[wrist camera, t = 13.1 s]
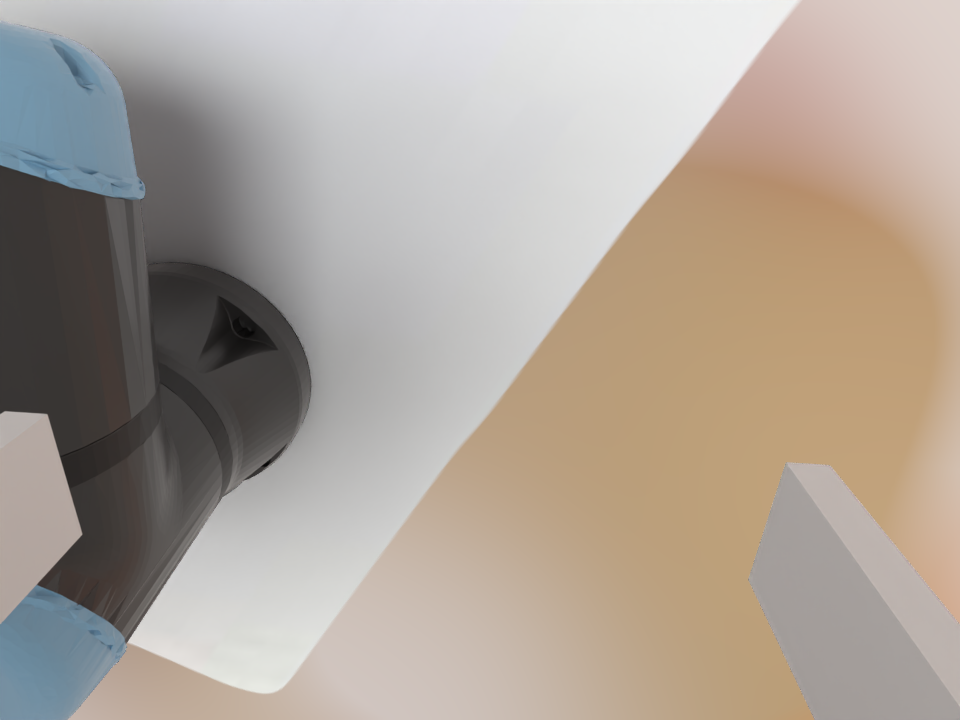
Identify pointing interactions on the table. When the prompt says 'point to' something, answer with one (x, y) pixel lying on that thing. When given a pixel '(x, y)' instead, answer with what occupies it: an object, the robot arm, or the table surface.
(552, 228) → the table surface
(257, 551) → the table surface
